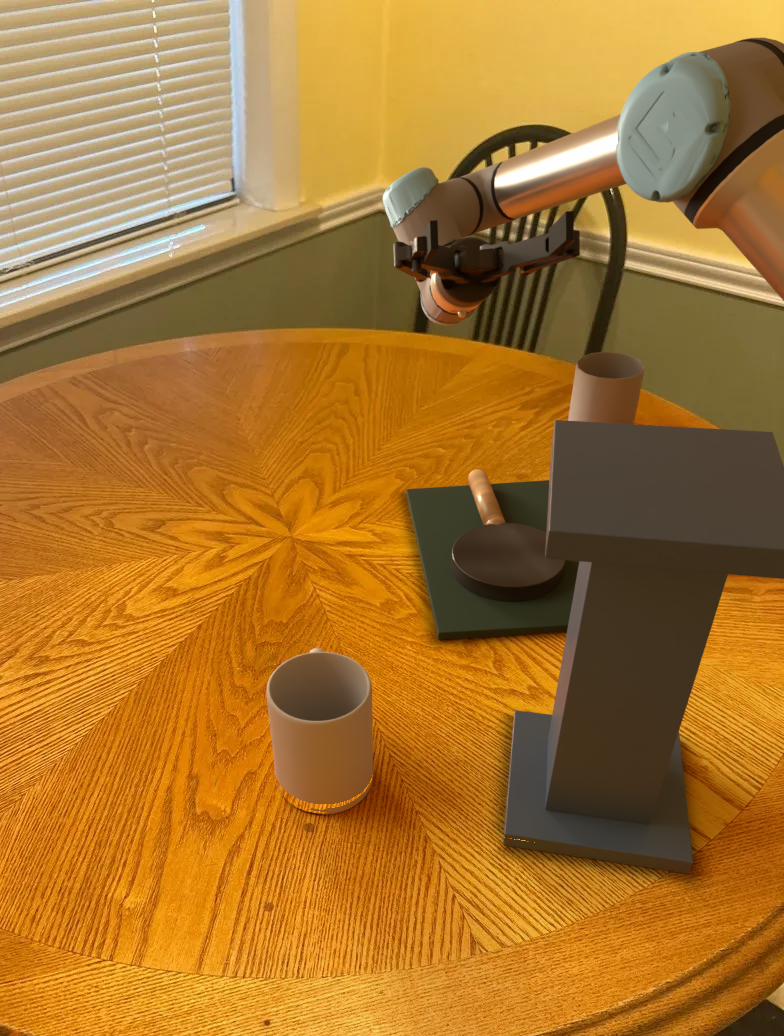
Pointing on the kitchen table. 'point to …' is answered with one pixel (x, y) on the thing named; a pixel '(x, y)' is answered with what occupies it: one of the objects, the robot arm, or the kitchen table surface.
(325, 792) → the mug
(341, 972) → the kitchen table surface
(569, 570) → the mat
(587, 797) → the stand
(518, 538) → the brown paddle
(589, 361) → the cup
